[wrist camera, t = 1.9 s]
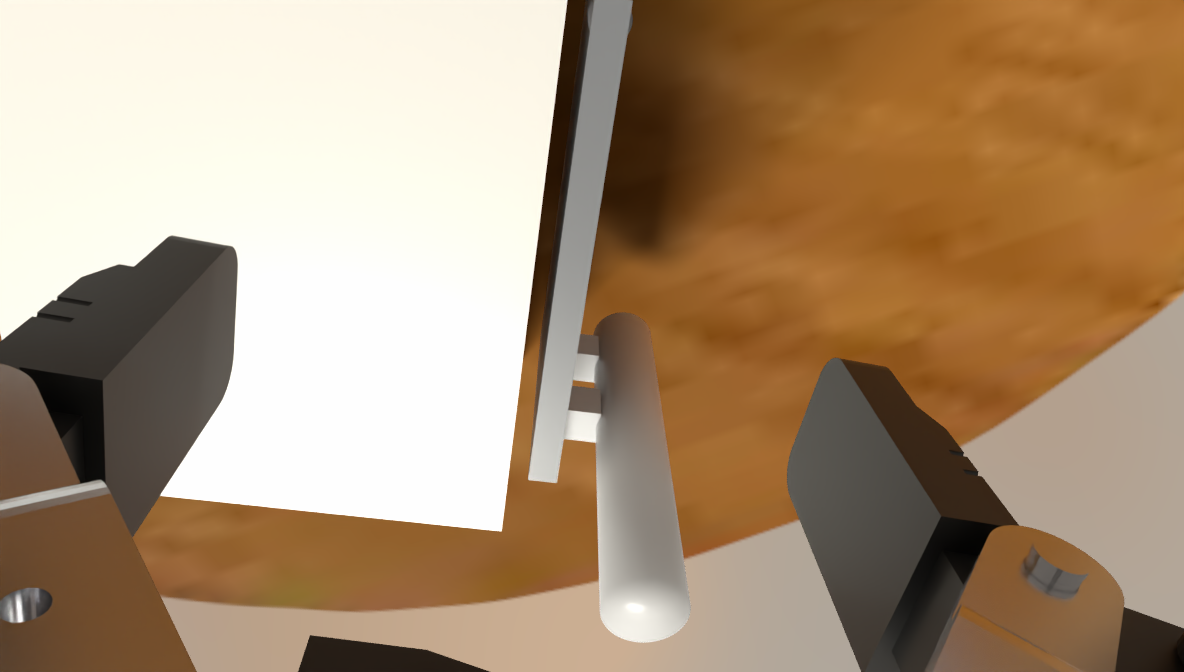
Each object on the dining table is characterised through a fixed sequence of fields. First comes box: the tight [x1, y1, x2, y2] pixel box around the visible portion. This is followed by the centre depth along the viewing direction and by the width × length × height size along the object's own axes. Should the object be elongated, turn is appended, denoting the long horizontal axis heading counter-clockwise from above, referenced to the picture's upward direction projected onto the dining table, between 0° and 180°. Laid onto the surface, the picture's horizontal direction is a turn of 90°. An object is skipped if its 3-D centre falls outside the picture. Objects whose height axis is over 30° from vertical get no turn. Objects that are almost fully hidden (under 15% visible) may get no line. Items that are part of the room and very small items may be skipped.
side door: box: [528, 0, 691, 642], centre depth 28 cm, size 5×16×18 cm, turn 172°
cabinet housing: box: [0, 0, 567, 531], centre depth 30 cm, size 16×22×13 cm
